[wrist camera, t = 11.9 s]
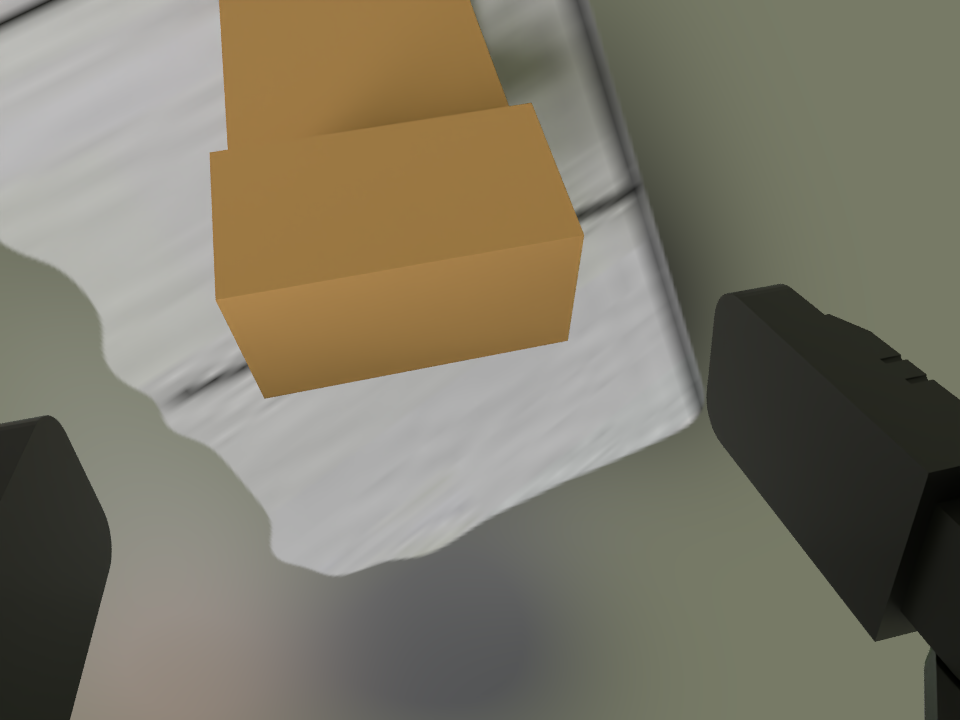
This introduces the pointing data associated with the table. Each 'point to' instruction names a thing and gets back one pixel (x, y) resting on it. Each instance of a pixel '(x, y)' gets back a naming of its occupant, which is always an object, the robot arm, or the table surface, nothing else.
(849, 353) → the robot arm
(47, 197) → the table surface
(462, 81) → the tan wooden bar
